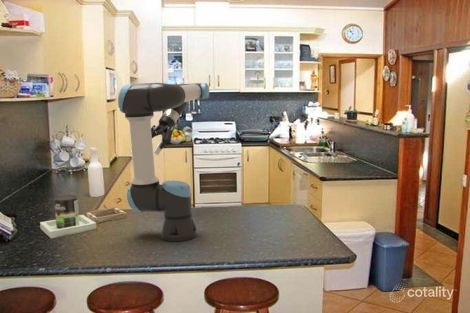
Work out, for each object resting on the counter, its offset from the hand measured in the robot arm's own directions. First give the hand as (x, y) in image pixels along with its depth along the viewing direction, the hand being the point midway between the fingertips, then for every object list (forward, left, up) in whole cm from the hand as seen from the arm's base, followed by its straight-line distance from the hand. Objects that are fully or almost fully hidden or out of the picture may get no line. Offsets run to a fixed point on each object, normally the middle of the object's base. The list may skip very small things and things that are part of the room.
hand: (146, 152), depth 220 cm
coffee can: (+10, +37, -32) cm, 50 cm away
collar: (+19, +16, -33) cm, 41 cm away
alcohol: (+75, +2, -33) cm, 82 cm away
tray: (+11, +37, -33) cm, 50 cm away
